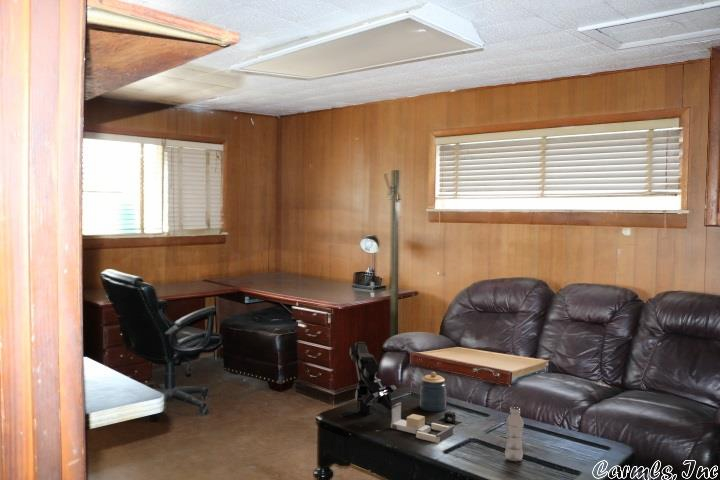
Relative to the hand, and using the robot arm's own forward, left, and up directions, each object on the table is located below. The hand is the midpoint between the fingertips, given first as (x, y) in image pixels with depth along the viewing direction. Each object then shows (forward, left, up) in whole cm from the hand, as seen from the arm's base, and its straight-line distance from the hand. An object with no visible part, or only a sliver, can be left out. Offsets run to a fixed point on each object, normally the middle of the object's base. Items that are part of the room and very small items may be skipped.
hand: (391, 410), depth 267 cm
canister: (+3, +33, -7) cm, 34 cm away
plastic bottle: (+59, -5, -7) cm, 59 cm away
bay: (+22, 0, -7) cm, 23 cm away
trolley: (+10, 0, -7) cm, 12 cm away
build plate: (+19, +20, -7) cm, 29 cm away
